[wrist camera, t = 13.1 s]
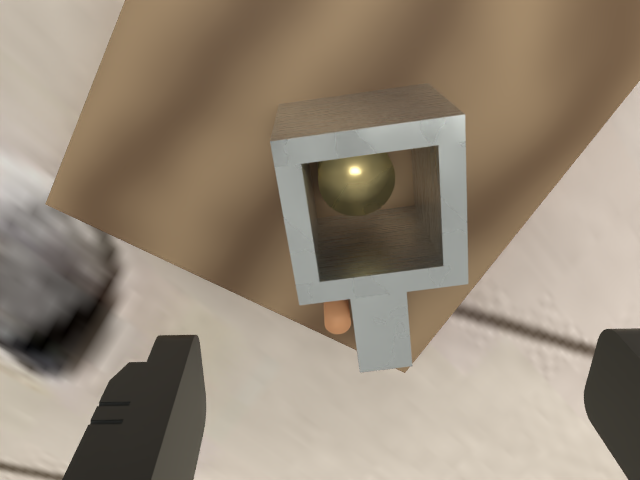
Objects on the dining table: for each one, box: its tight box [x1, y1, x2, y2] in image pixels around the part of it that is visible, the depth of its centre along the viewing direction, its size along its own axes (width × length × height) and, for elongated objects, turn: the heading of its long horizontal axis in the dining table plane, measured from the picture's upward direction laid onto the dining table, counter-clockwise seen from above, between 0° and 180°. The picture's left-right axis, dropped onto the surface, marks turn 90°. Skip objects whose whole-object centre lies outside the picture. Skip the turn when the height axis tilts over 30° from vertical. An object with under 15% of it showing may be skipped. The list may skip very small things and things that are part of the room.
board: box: [46, 0, 640, 373], centre depth 24 cm, size 20×22×2 cm
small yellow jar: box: [317, 152, 395, 216], centre depth 23 cm, size 3×3×4 cm
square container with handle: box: [270, 83, 468, 372], centre depth 23 cm, size 12×6×6 cm, turn 8°
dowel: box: [324, 299, 351, 334], centre depth 26 cm, size 1×1×3 cm
